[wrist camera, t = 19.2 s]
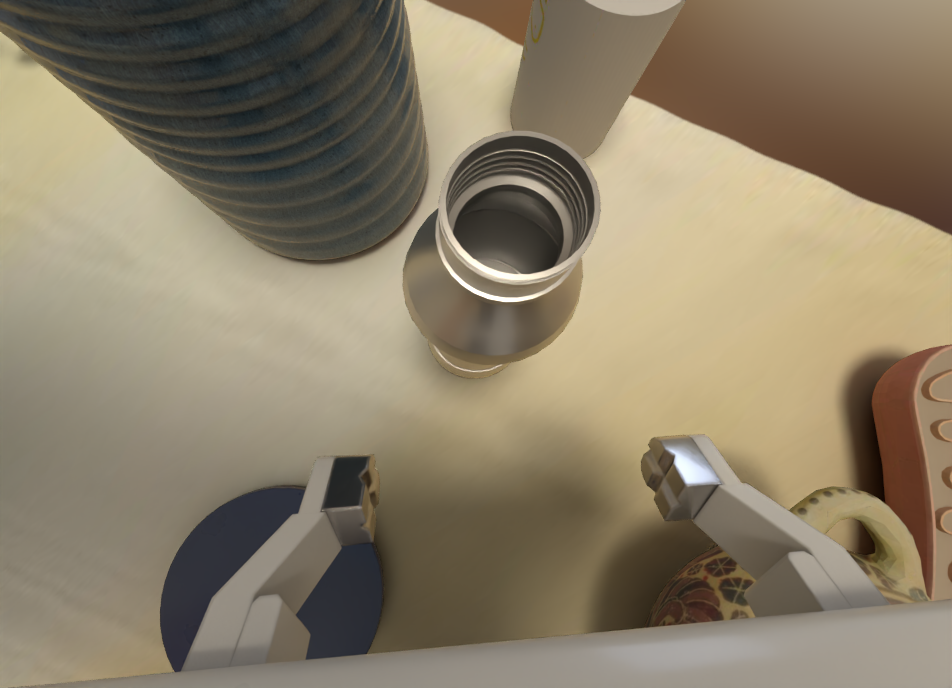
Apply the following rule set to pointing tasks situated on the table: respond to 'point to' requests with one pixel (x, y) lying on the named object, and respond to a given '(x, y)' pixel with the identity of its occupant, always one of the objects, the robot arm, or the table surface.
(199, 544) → the lid
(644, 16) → the light grey upright cylinder
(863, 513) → the patterned ceramic jar
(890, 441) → the mitochondrion model
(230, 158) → the vase
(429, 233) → the metal water bottle
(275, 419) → the table surface
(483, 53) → the table surface
